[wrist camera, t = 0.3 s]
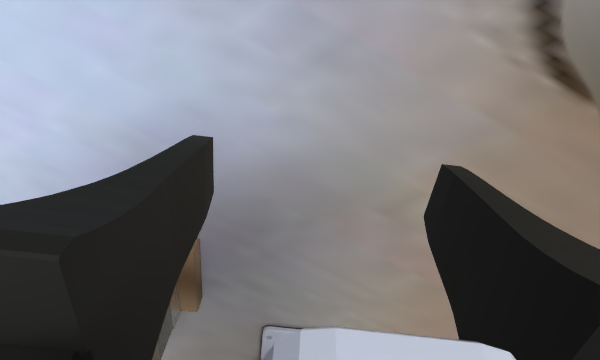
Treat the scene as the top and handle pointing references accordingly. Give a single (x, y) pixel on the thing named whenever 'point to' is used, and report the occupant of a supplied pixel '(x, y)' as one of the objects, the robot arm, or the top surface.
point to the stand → (191, 281)
